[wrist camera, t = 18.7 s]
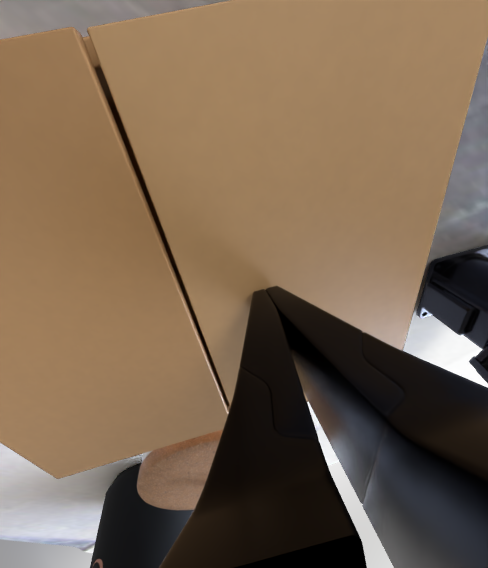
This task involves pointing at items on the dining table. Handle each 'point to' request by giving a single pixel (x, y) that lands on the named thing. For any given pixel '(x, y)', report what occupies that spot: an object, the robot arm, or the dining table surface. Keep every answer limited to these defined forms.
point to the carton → (87, 276)
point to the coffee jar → (134, 527)
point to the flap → (297, 149)
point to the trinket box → (177, 472)
